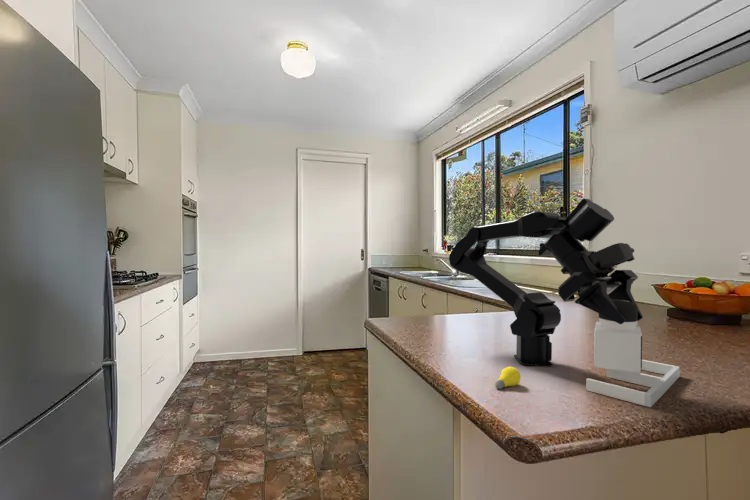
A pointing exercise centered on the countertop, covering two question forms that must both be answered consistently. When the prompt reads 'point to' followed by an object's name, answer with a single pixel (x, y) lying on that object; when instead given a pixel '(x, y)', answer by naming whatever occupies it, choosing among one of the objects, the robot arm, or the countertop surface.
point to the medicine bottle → (619, 341)
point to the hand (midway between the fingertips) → (632, 321)
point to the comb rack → (635, 396)
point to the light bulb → (508, 378)
